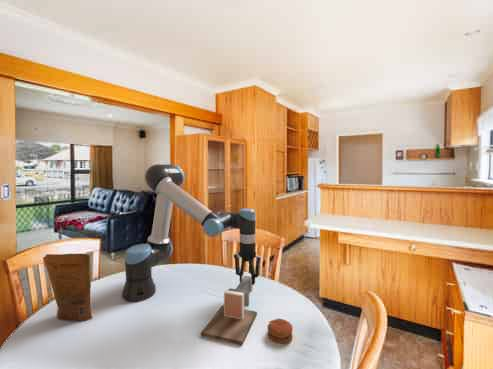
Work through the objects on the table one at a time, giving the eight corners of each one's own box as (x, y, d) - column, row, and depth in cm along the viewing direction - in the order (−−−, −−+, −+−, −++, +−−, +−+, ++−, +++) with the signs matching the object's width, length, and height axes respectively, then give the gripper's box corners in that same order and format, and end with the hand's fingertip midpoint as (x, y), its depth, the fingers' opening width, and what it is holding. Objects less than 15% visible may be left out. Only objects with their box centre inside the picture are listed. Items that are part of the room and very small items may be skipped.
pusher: (228, 303, 108) (228, 289, 107) (240, 286, 122) (240, 275, 122) (248, 306, 105) (248, 292, 104) (257, 289, 120) (257, 277, 119)
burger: (294, 345, 87) (294, 332, 87) (268, 344, 88) (268, 332, 87) (290, 327, 97) (290, 316, 97) (266, 327, 98) (266, 315, 97)
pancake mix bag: (86, 325, 98) (83, 256, 96) (44, 321, 101) (40, 253, 99) (99, 315, 105) (96, 250, 103) (59, 311, 108) (56, 248, 106)
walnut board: (201, 335, 92) (201, 332, 92) (222, 308, 110) (222, 305, 110) (242, 345, 87) (242, 341, 87) (256, 315, 105) (256, 311, 105)
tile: (224, 315, 102) (223, 292, 101) (226, 313, 104) (225, 289, 103) (242, 319, 100) (242, 295, 99) (244, 316, 102) (244, 292, 101)
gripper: (228, 242, 116) (228, 290, 118) (262, 245, 111) (262, 296, 113) (233, 238, 123) (233, 283, 125) (266, 241, 118) (266, 288, 120)
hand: (247, 289), depth 119 cm, fingers closed on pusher, 3 cm apart
